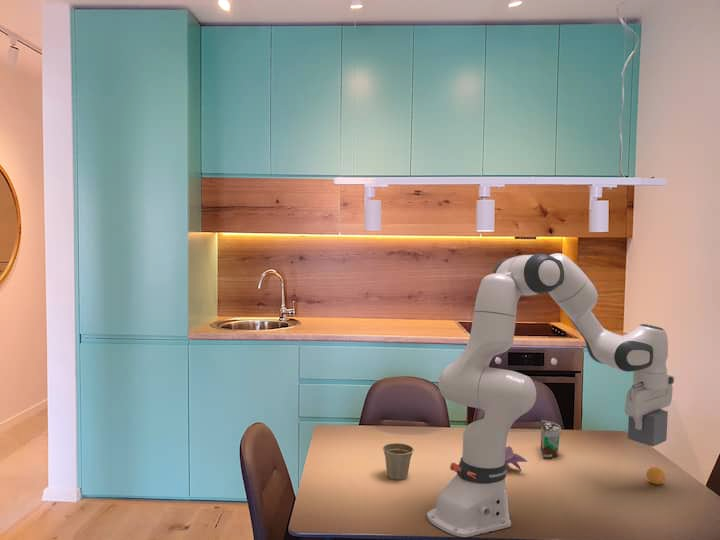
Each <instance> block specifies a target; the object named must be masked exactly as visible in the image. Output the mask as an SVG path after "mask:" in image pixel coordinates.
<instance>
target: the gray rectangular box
mask: <svg viewBox="0 0 720 540" xmlns="http://www.w3.org/2000/svg"><path fill="white" fill-rule="evenodd" d="M668 413H669V411H667V410H664V409H663V410H660V409H659V410H656V411H654V412H651V413H648V414H645V415H643V418H642V423H644V428H643V429H641V430H638V429H636V428H635V421H634V418H633V417H631V416H628V427H627V428H628V429H627V439H628V440H631V441H634V442H637V443H639V444H643V445H647V446H649V447H655V446H658V445H660V444H662V443H664V442H666V441H667V439H668V438H667V437H668V434H667V433H668V417H669V414H668Z"/></svg>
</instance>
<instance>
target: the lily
mask: <svg viewBox="0 0 720 540" xmlns="http://www.w3.org/2000/svg"><path fill="white" fill-rule="evenodd" d="M505 461H506V465H509V464H512V465H513V466H515V468H517V470H519V471H522V468H521V466H520V464H519V463H527V462H528V460H527V459H525V458H524V457H523V456H522V455H520V454H518V453H514V450H513V448H512V447H511V446H510V445H509V446H506V451H505Z"/></svg>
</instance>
